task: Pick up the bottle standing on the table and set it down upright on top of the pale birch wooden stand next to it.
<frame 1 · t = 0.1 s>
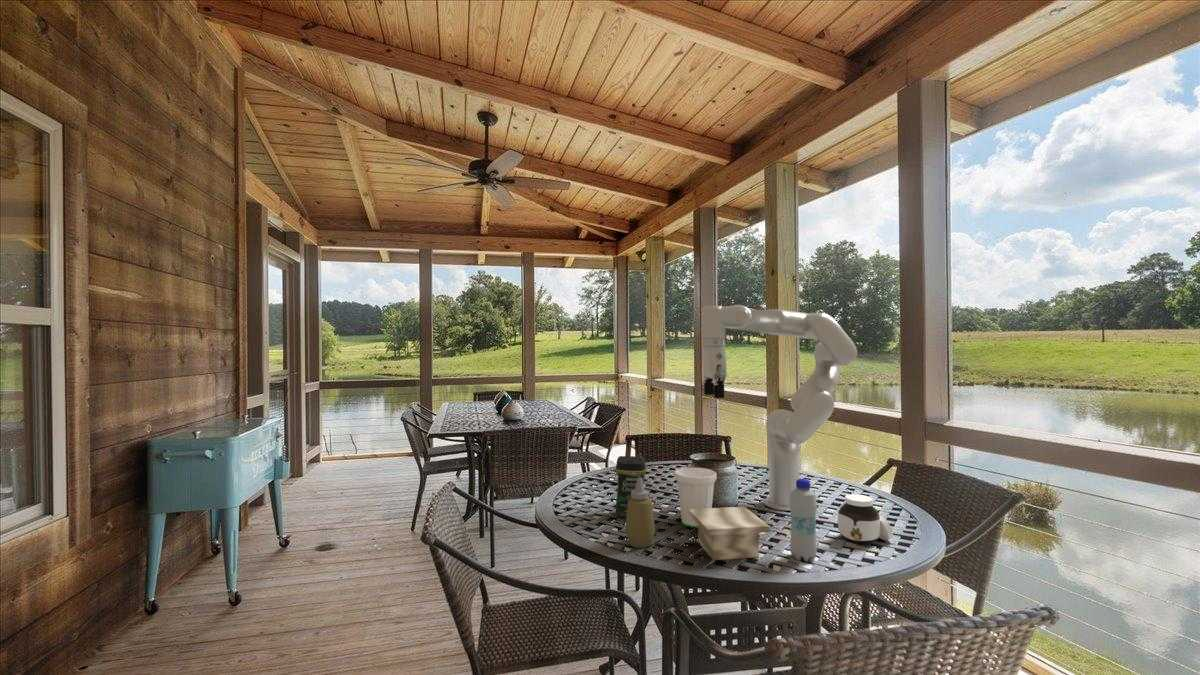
hand: (714, 396, 177), 37 cm above the table, tool pointing down, fingers open, 9 cm apart
squeeze bottle: (640, 545, 148), on the table
coffee jar: (631, 515, 172), on the table
bottle: (803, 558, 138), on the table
cup: (695, 523, 164), on the table
spread jar: (865, 540, 150), on the table
stand: (727, 549, 143), on the table
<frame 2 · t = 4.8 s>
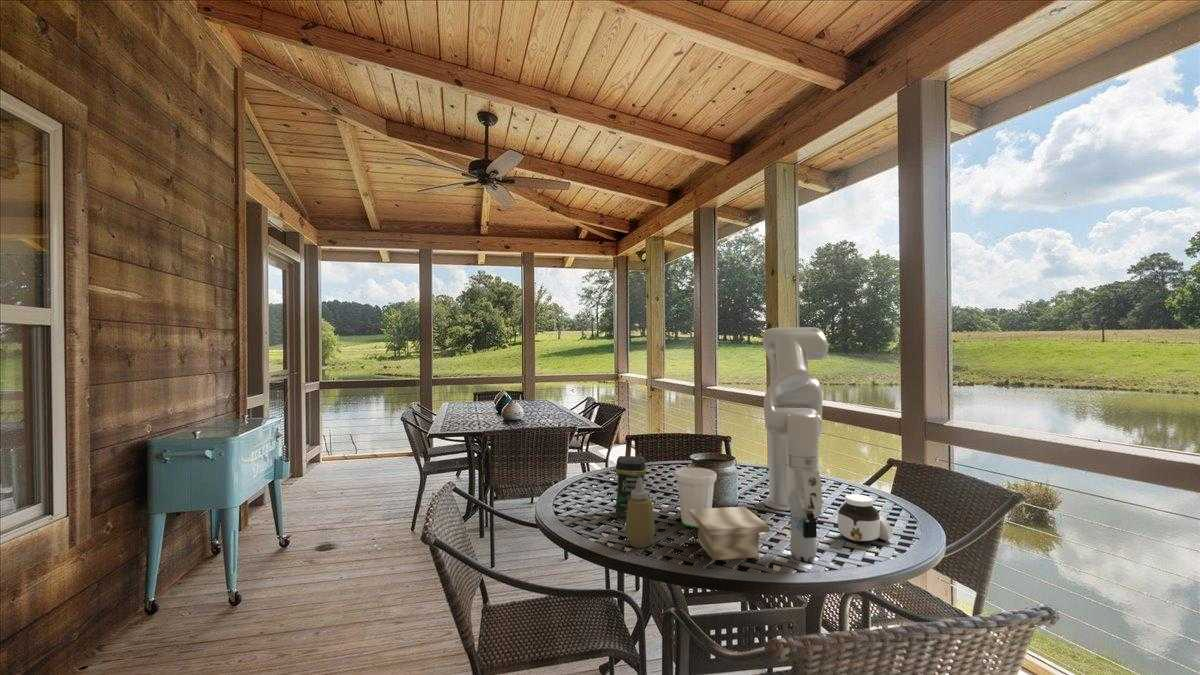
hand: (803, 531, 138), 7 cm above the table, tool pointing down, fingers closed on bottle, 5 cm apart
bottle: (803, 558, 138), on the table, touching gripper
everything else where it was.
when the fingers open (16 cm above the table, at t = 10.7 s): bottle stays where it is, resting on stand.
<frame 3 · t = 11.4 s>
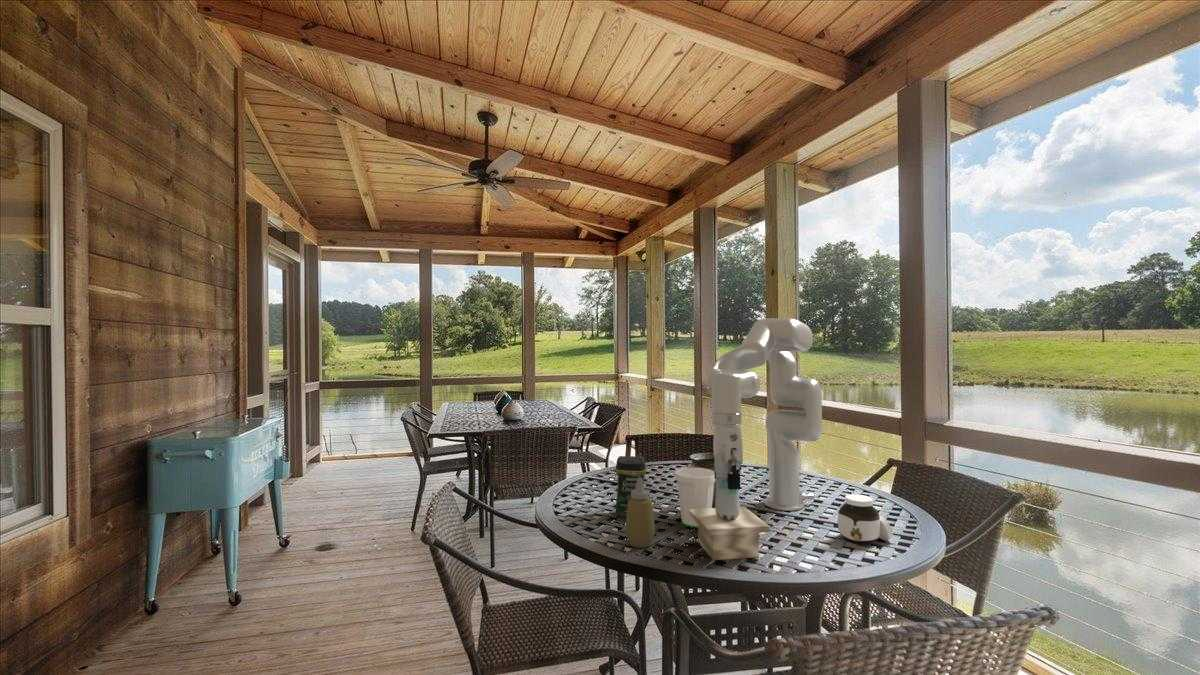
hand: (727, 483, 143), 17 cm above the table, tool pointing down, fingers open, 9 cm apart
bottle: (727, 517, 144), point 8 cm above the table, touching stand
everything else where it was.
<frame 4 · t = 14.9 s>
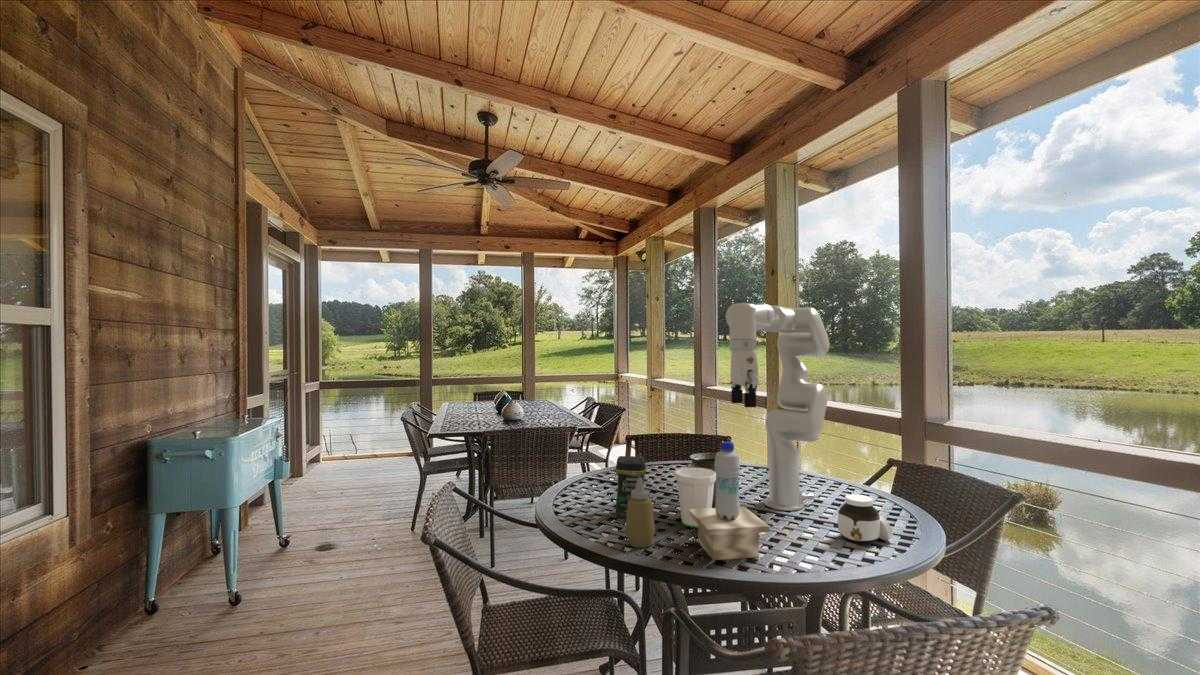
hand: (743, 404, 158), 36 cm above the table, tool pointing down, fingers open, 9 cm apart
nothing on the table moved.
at the end: bottle inside the target area on the stand (0.1 cm from its centre), point 8.3 cm above the stand's base; bottle tilted 0°; the gripper is holding nothing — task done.
